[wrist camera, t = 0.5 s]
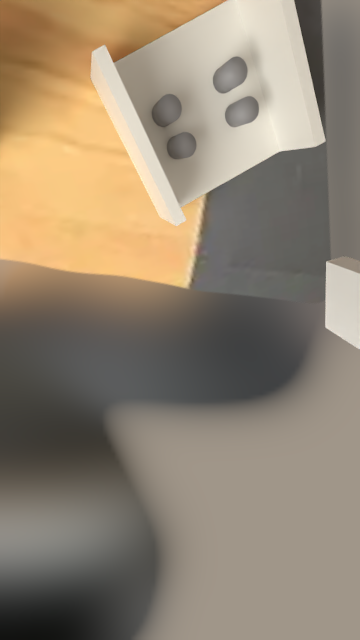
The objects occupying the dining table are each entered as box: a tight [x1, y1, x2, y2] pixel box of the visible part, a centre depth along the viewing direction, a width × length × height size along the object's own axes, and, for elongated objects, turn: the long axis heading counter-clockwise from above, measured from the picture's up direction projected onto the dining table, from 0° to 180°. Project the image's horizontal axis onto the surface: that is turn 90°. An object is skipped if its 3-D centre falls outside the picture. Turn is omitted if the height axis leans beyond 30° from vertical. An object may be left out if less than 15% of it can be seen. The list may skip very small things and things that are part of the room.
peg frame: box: [91, 0, 325, 226], centre depth 29 cm, size 13×15×7 cm
